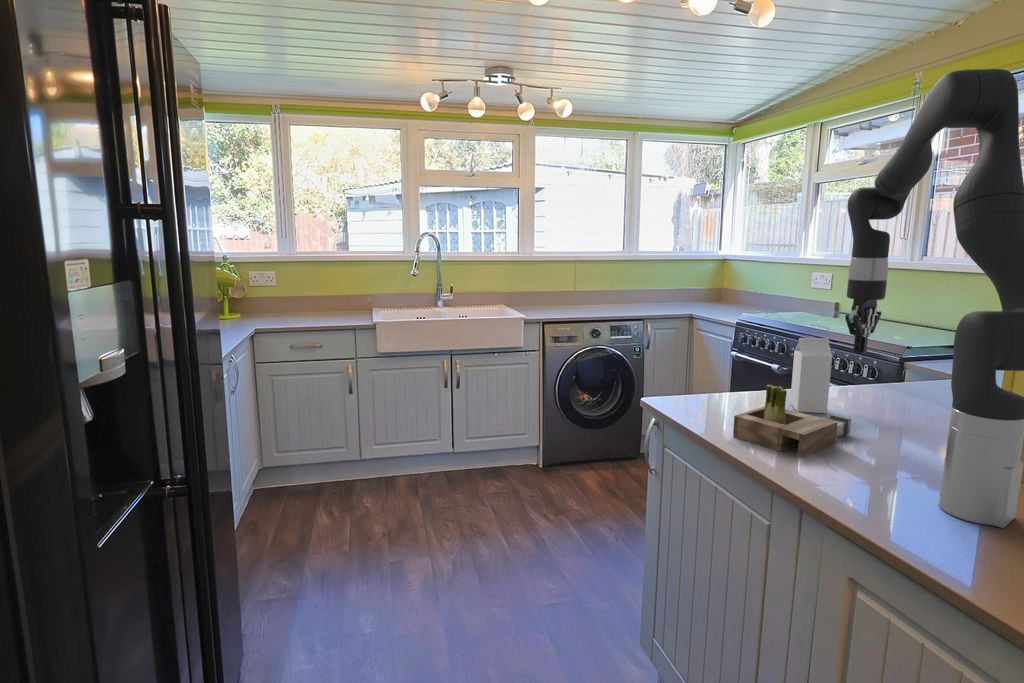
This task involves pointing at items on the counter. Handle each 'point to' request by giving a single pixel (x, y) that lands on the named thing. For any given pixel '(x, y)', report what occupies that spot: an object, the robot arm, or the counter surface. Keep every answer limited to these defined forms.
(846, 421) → the lock pin
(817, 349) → the milk carton
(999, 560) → the counter surface
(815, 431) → the dock
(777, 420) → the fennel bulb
